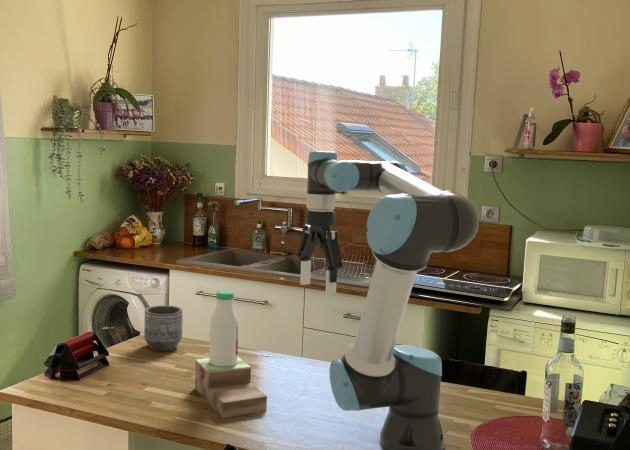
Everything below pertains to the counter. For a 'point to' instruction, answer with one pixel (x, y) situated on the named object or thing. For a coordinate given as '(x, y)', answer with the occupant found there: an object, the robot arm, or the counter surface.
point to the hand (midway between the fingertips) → (317, 289)
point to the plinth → (229, 388)
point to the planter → (163, 327)
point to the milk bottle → (223, 332)
